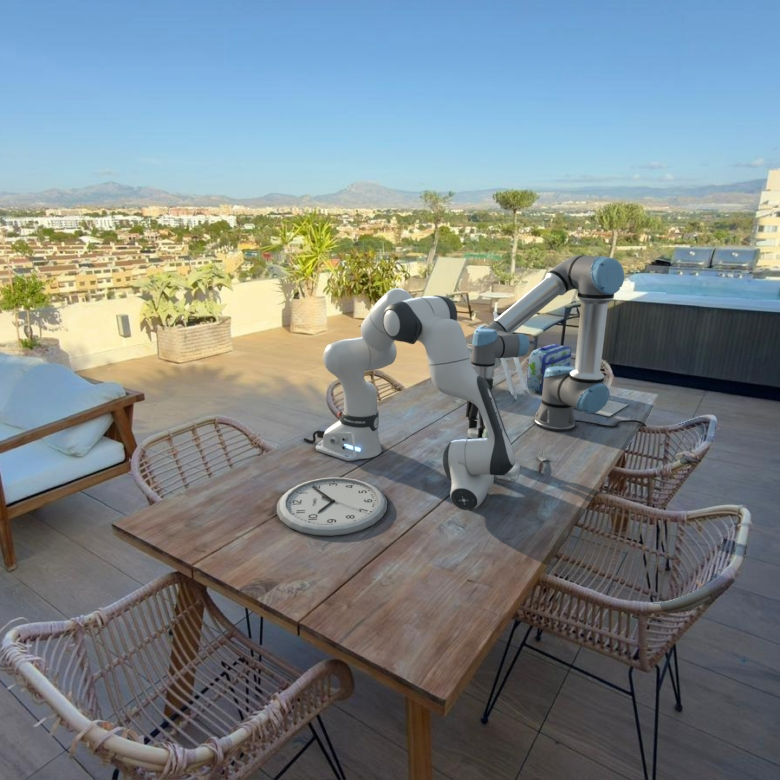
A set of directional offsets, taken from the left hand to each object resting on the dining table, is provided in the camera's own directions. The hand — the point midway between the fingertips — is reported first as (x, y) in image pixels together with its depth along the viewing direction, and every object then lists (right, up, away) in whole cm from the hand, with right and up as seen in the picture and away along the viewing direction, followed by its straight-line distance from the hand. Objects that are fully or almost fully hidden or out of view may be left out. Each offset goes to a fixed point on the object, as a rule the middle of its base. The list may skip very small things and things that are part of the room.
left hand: (490, 456), depth 160 cm
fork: (+18, -4, +9) cm, 21 cm away
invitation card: (+61, +13, +66) cm, 91 cm away
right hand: (-2, +3, +16) cm, 16 cm away
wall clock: (-46, -11, -17) cm, 51 cm away
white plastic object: (+11, +19, +83) cm, 86 cm away
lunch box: (+45, +21, +90) cm, 102 cm away
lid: (-2, +6, +15) cm, 16 cm away
